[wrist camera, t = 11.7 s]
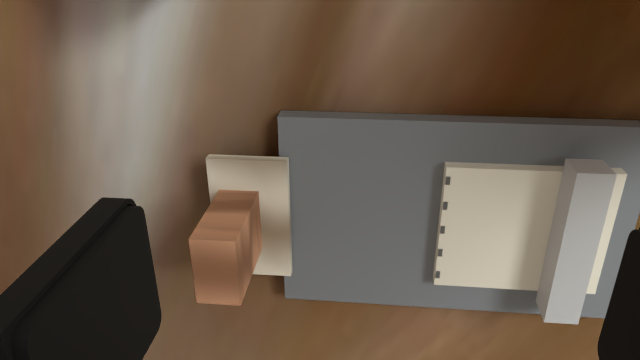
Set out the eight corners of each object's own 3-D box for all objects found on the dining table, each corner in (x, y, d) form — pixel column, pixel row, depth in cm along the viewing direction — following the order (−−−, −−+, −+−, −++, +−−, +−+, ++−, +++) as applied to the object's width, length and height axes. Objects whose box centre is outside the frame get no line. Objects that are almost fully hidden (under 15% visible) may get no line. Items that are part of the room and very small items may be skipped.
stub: (208, 154, 39) (171, 203, 32) (288, 157, 39) (267, 207, 32) (220, 266, 44) (189, 331, 37) (292, 270, 43) (274, 337, 36)
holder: (280, 110, 39) (268, 133, 35) (653, 120, 37) (690, 147, 32) (287, 287, 46) (277, 325, 42) (601, 306, 43) (626, 349, 39)
